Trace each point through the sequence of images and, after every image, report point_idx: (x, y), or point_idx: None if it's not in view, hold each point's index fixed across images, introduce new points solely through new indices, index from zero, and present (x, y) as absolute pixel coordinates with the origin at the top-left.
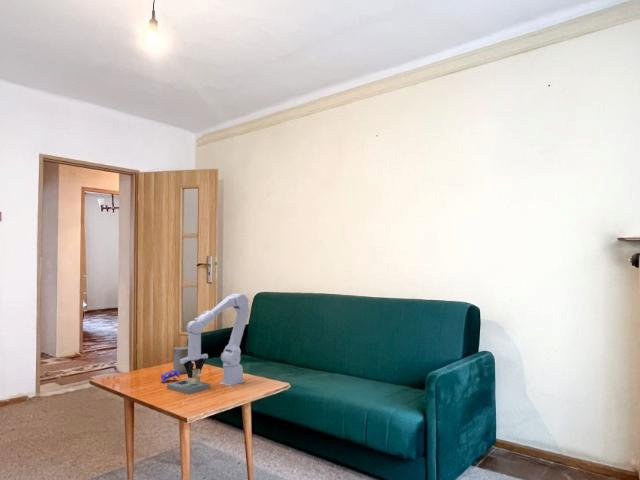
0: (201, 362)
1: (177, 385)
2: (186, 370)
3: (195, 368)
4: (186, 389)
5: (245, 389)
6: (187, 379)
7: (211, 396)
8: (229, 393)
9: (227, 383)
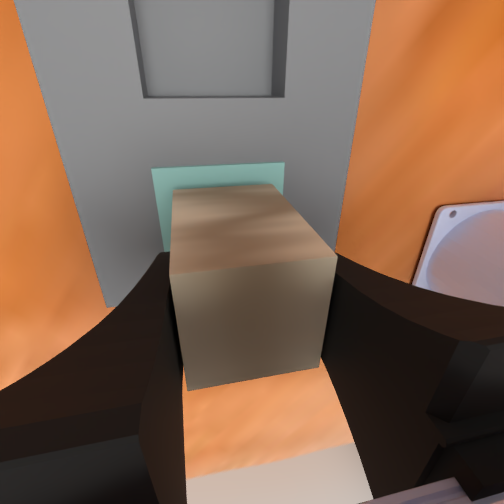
0: (373, 495)
1: (81, 74)
2: (117, 310)
3: (318, 293)
4: (100, 278)
5: None
6: (172, 203)
7: None
8: (299, 386)
9: (430, 281)
